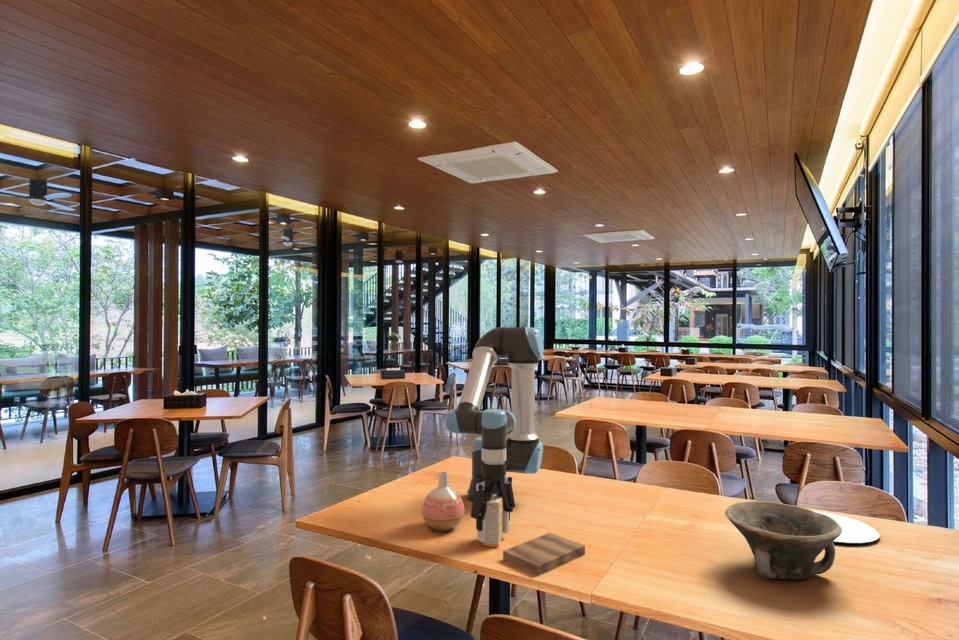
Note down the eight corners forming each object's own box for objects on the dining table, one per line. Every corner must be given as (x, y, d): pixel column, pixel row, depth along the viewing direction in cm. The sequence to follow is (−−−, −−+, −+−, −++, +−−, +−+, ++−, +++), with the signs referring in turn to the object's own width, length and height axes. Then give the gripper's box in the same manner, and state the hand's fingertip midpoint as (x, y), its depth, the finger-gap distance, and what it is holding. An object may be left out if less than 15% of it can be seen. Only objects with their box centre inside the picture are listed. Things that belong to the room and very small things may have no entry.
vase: (431, 539, 165) (431, 480, 165) (415, 524, 177) (415, 470, 177) (471, 531, 171) (471, 475, 171) (453, 518, 183) (453, 465, 183)
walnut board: (549, 541, 164) (549, 532, 164) (585, 554, 154) (585, 545, 154) (503, 559, 150) (503, 550, 150) (538, 575, 140) (538, 566, 140)
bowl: (793, 606, 125) (793, 541, 126) (704, 561, 150) (704, 507, 150) (866, 585, 136) (866, 525, 136) (772, 546, 160) (772, 495, 161)
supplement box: (499, 547, 158) (499, 502, 158) (483, 546, 159) (483, 501, 159) (503, 537, 166) (503, 494, 167) (488, 535, 167) (488, 493, 167)
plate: (867, 522, 182) (867, 517, 182) (891, 554, 156) (891, 548, 156) (769, 509, 194) (769, 505, 194) (776, 537, 168) (776, 532, 168)
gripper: (509, 453, 173) (509, 524, 173) (458, 465, 158) (457, 542, 158) (527, 458, 168) (527, 531, 167) (475, 470, 153) (475, 550, 153)
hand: (493, 536), depth 163 cm, fingers closed on supplement box, 9 cm apart
